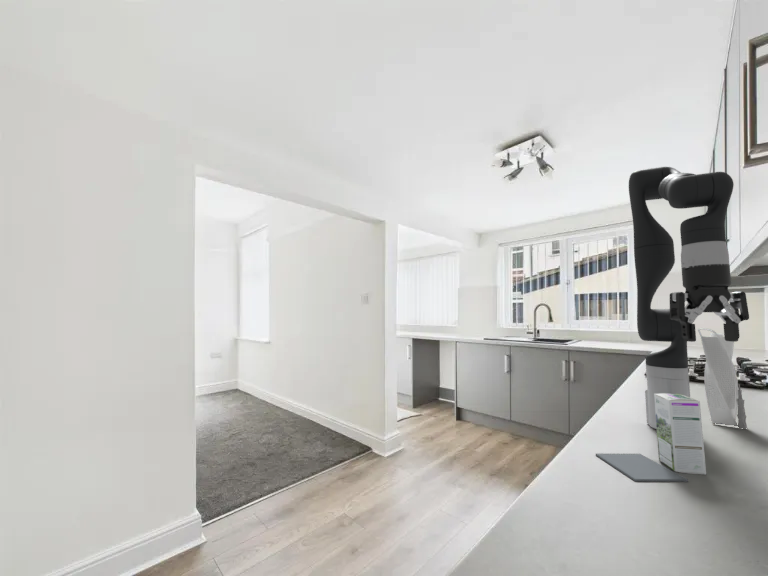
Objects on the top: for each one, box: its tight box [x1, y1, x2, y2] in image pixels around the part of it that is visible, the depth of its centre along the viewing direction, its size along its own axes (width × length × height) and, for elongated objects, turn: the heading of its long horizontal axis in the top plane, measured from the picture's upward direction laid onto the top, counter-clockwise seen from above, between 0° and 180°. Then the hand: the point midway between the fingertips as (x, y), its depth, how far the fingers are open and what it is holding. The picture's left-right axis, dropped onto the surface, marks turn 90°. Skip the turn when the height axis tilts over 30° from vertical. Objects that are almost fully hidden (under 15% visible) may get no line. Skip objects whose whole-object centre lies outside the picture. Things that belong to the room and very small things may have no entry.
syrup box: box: [654, 393, 707, 476], centre depth 71 cm, size 6×6×14 cm
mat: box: [595, 453, 689, 483], centre depth 70 cm, size 12×10×1 cm
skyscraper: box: [697, 327, 748, 429], centre depth 100 cm, size 8×8×28 cm
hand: (710, 341), depth 72 cm, fingers open, 8 cm apart
